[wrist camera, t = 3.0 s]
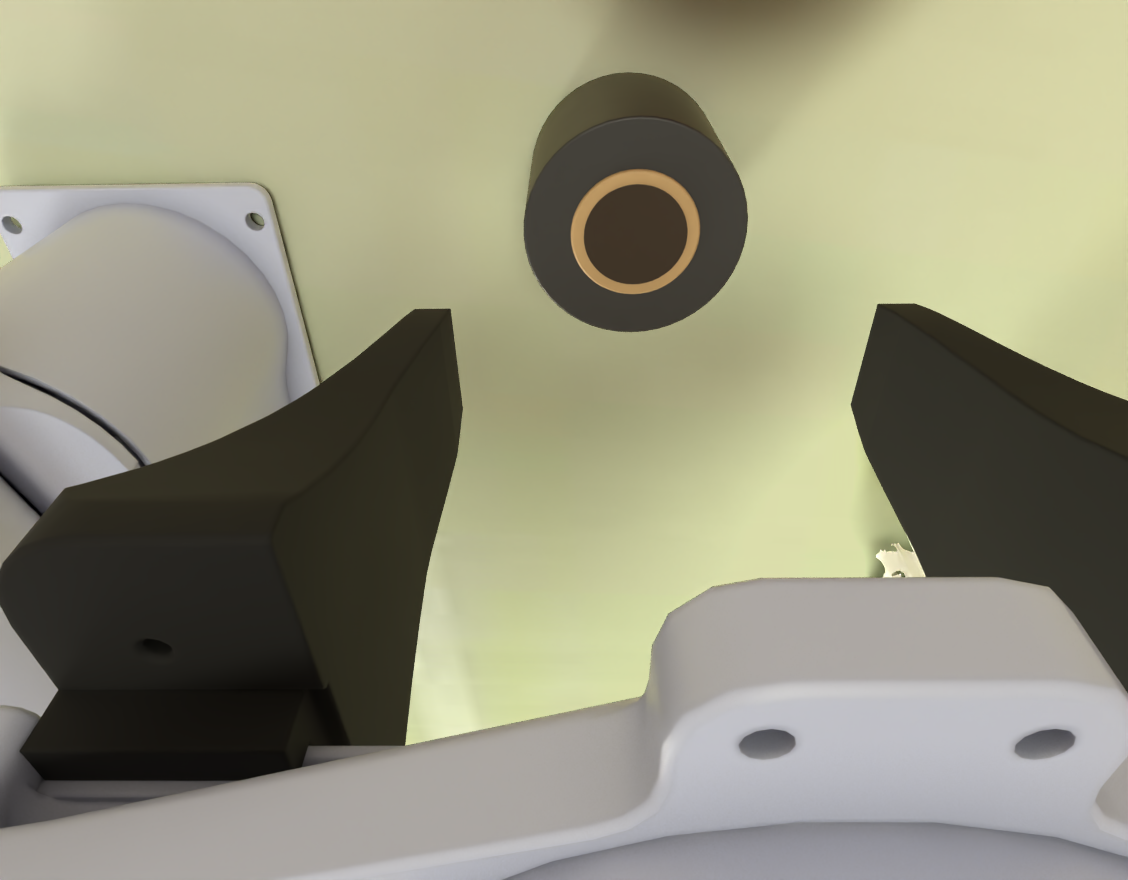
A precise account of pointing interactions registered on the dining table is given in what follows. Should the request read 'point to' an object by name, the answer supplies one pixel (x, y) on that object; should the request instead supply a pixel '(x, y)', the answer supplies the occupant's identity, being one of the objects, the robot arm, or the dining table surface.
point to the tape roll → (632, 205)
